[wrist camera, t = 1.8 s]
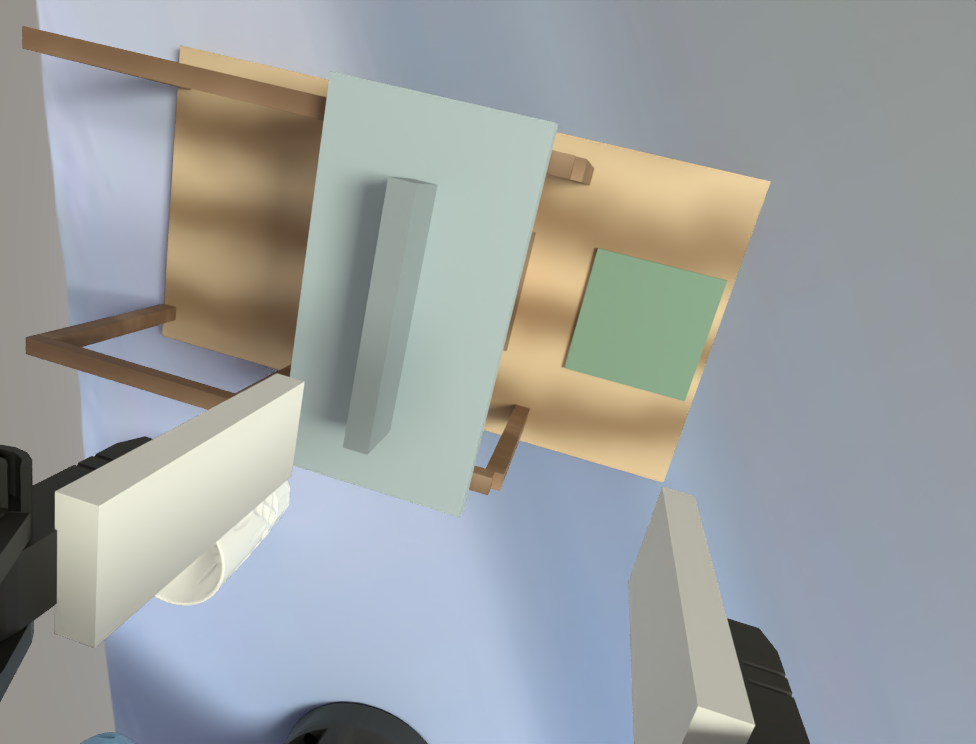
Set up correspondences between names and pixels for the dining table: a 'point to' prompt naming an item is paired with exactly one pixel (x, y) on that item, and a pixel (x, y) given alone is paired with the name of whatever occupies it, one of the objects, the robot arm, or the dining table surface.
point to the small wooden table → (284, 236)
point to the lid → (411, 284)
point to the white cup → (226, 553)
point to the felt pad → (644, 323)
